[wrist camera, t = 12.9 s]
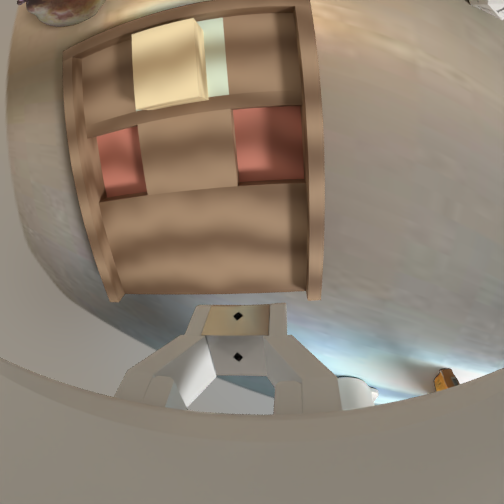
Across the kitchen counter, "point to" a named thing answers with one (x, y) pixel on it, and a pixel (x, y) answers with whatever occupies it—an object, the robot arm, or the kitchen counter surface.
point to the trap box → (204, 157)
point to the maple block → (169, 65)
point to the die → (490, 7)
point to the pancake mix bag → (445, 380)
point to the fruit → (62, 10)
